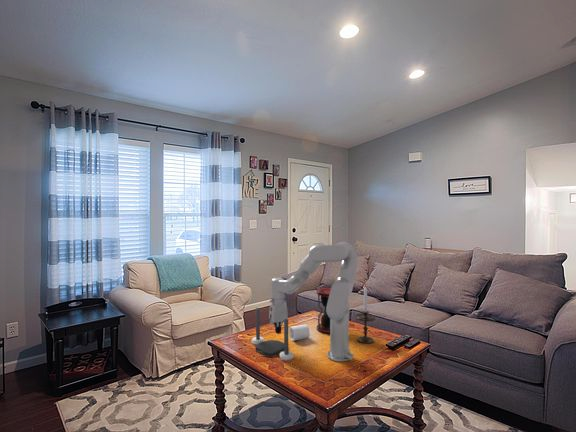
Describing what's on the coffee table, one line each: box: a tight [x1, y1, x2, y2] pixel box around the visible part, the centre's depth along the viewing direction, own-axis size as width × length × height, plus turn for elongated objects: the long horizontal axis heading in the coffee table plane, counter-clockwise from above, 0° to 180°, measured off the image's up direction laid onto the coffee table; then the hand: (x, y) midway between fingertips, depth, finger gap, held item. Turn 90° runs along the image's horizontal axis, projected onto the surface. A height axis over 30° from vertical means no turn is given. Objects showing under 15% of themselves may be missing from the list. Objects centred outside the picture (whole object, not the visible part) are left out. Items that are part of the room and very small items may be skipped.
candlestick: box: [355, 281, 376, 345], centre depth 198 cm, size 11×11×35 cm
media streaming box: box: [255, 339, 284, 358], centre depth 187 cm, size 15×15×3 cm
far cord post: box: [251, 307, 265, 346], centre depth 197 cm, size 7×7×20 cm
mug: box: [288, 323, 311, 342], centre depth 203 cm, size 12×10×8 cm
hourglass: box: [316, 287, 331, 335], centre depth 216 cm, size 16×16×25 cm
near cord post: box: [279, 318, 294, 362], centre depth 177 cm, size 7×7×20 cm
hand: (278, 332), depth 190 cm, fingers closed
